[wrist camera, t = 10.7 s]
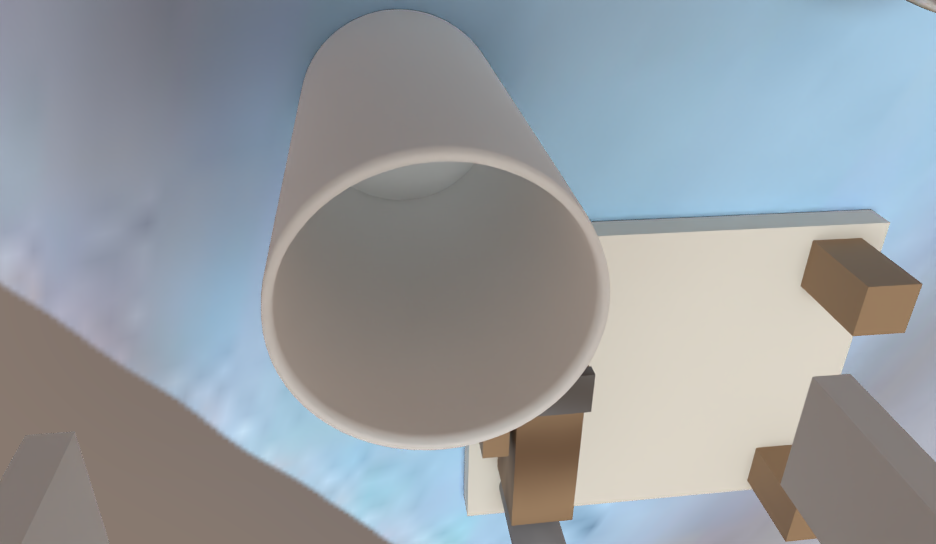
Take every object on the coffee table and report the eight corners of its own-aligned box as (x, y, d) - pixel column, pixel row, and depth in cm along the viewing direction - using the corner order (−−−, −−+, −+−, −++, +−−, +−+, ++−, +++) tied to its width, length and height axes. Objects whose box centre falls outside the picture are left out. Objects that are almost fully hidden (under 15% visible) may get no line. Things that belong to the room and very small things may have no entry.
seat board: (469, 227, 34) (492, 299, 29) (871, 209, 37) (963, 272, 31) (463, 495, 43) (480, 591, 37) (791, 466, 45) (853, 552, 40)
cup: (487, 204, 34) (582, 447, 20) (302, 199, 32) (266, 456, 19) (508, 16, 30) (643, 157, 16) (298, 1, 29) (249, 143, 15)
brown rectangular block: (554, 461, 40) (577, 529, 36) (495, 466, 39) (511, 535, 35) (567, 315, 35) (595, 374, 31) (500, 320, 35) (520, 380, 31)
